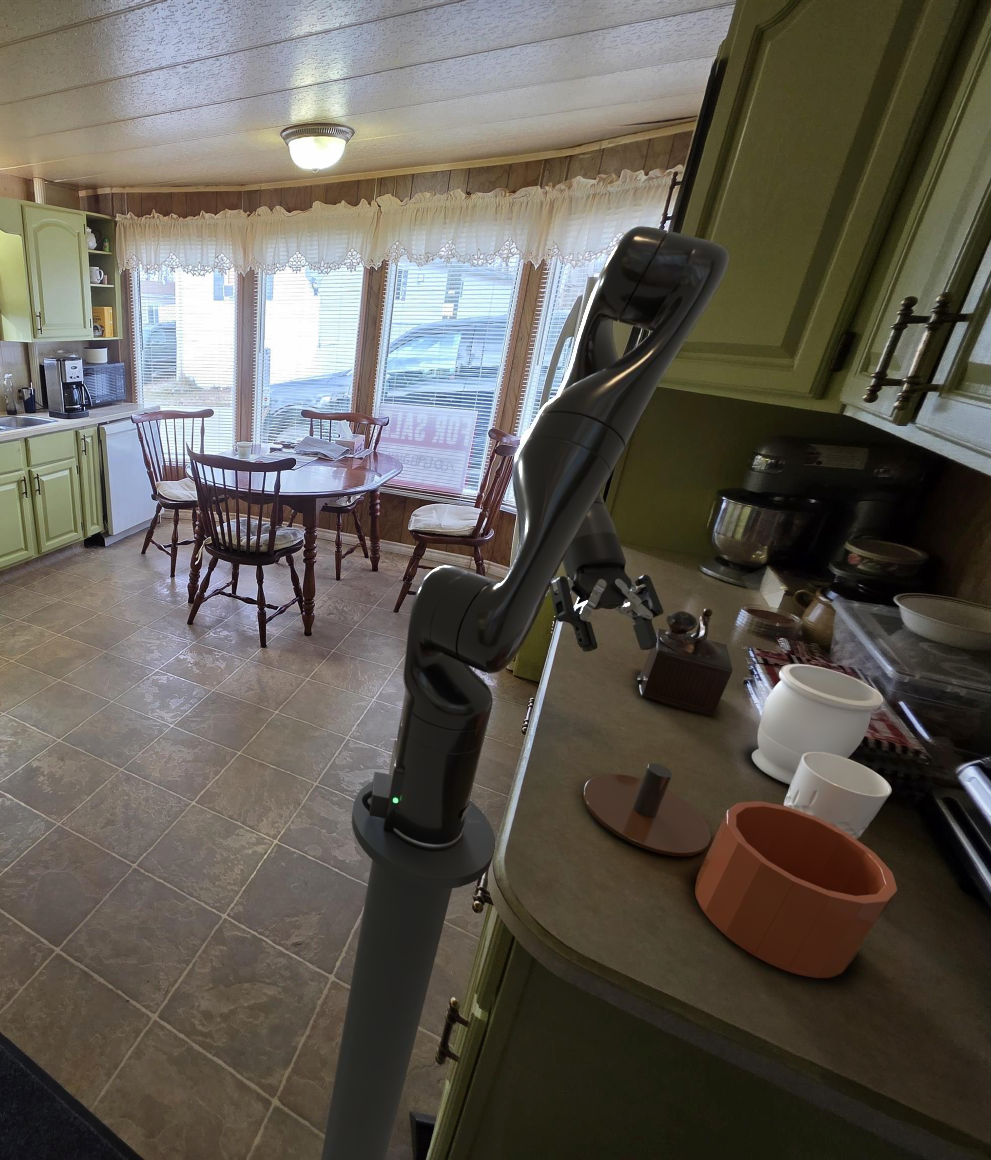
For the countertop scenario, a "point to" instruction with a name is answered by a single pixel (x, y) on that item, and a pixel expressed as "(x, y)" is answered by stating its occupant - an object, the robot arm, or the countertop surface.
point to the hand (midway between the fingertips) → (620, 649)
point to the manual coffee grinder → (686, 666)
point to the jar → (812, 718)
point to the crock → (792, 888)
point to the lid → (647, 812)
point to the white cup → (837, 791)
